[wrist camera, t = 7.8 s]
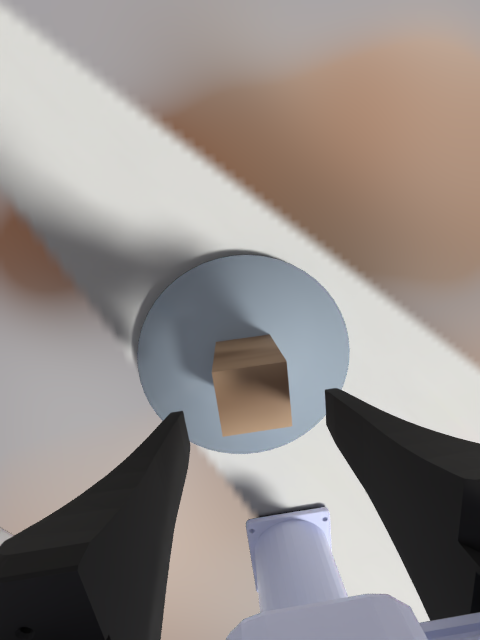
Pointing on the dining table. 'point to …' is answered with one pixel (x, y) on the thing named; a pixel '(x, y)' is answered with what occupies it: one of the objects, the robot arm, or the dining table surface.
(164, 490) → the robot arm
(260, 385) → the walnut block
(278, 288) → the slate dish
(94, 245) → the dining table surface
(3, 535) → the white cup
